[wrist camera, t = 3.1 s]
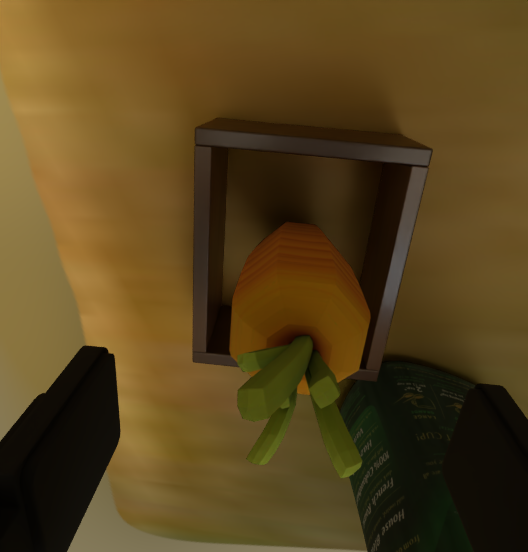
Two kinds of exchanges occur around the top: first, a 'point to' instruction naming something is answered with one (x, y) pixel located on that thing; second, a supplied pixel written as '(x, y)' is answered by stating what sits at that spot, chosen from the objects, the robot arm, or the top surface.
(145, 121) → the top surface
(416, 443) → the coffee jar
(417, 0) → the top surface
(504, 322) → the top surface
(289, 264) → the carrot
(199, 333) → the pen box
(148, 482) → the top surface
